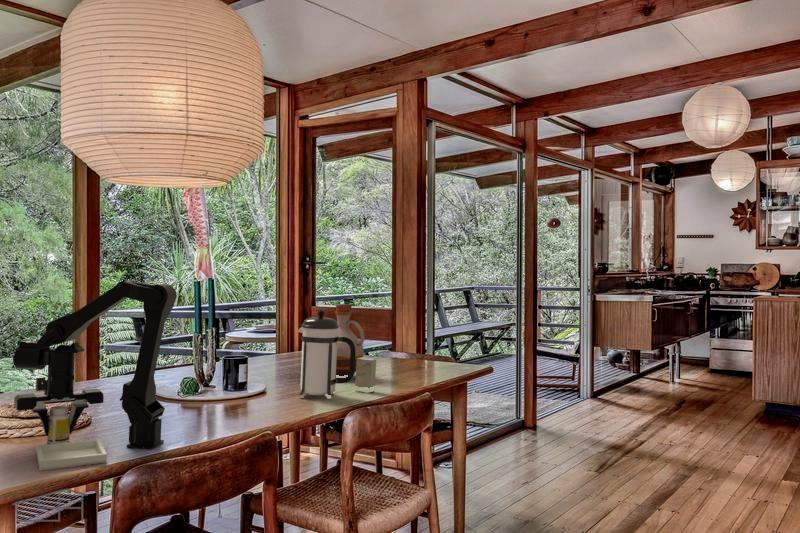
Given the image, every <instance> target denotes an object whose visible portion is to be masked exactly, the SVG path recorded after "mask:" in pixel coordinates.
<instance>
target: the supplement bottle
mask: <svg viewBox="0 0 800 533" xmlns="http://www.w3.org/2000/svg"><path fill="white" fill-rule="evenodd" d="M49 414H50V415H49V416H48V429H49V431H48V436H46V437H47V439H46V441H47V444H57V443H67V442H70V434H71V433H70V416H71V414H69V406H68V405H56V406H51V407H50V408H49Z"/></svg>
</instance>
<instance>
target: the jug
mask: <svg viewBox="0 0 800 533" xmlns="http://www.w3.org/2000/svg"><path fill="white" fill-rule="evenodd" d="M352 307H353V305H352V304H335V309H336V310H335V316H336V321H337V323H338V325H339V328H338V333H337V336H338V337H347V338H349V339H351V340H352V341H353V343H354V345H355V372H354V374H356V366H357V358H362V357H363V358H364V354H365V353H364V351H365V350H364V345H363V344H364V341H365V332H364V329H363V328H362V326H361V325H360V324H359V323H358V322H357V321H355V320H354V319H353V320H350V317H351V315H352V311H351V310H352ZM350 325H354V327H356V328H357V330H358V332H359V334H360V339H359V338H358V337H357V336H356V335H355V333H353V331H352V330H351V329H350ZM349 373H350V346H349V345H348V344H347V343H346V342H340V341H337V357H336V375H339V376H344V375H349Z"/></svg>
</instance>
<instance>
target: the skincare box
mask: <svg viewBox="0 0 800 533" xmlns="http://www.w3.org/2000/svg"><path fill="white" fill-rule="evenodd" d="M376 369H377V359H376V358H371V357H370V358H369V357H364V356H363V357H362V358H357V366H356V372H355V382H354V383H355V384H354V387H355V386H358V387H368V388H370V387H373V386H375V387H376V384H375V383H376V371H377V370H376Z"/></svg>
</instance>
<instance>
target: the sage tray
mask: <svg viewBox="0 0 800 533" xmlns="http://www.w3.org/2000/svg"><path fill="white" fill-rule="evenodd" d="M35 456H36V460H37V466H38V471H39V472H43V471H51V470H58V469H68V467H69V468H76V466H77V467H83V465H86V466H92V465H91V464H94V465H99V464H98V463H103V464H108V463H107V462H108V457H107V456H108V453H107V452H106V450H105V447H104V445H103V443H102V442H101V439H99V438H98V439H88V440H79V441H68V442H66V443H57V444H49V443H47V444H38V445H36V451H35ZM66 467H67V468H66Z"/></svg>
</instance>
